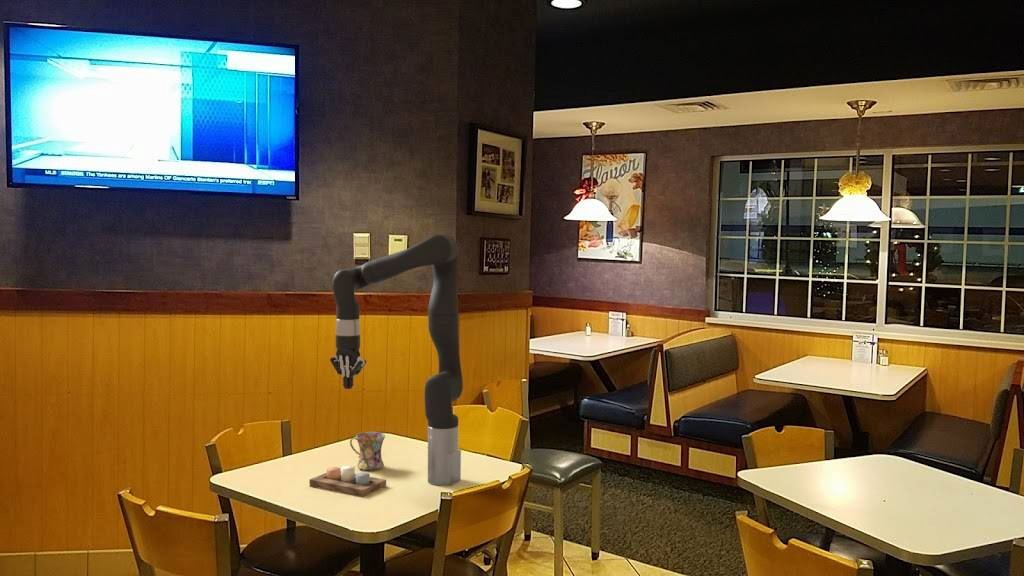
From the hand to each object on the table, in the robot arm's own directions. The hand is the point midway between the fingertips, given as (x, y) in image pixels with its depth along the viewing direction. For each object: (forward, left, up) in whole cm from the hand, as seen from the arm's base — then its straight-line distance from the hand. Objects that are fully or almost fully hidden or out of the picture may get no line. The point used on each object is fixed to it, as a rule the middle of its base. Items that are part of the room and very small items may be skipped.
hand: (348, 388), depth 248 cm
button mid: (-8, +10, -25) cm, 28 cm away
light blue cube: (-13, +10, -27) cm, 31 cm away
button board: (-8, +10, -27) cm, 30 cm away
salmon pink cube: (-3, +10, -27) cm, 29 cm away
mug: (-1, -8, -27) cm, 28 cm away
